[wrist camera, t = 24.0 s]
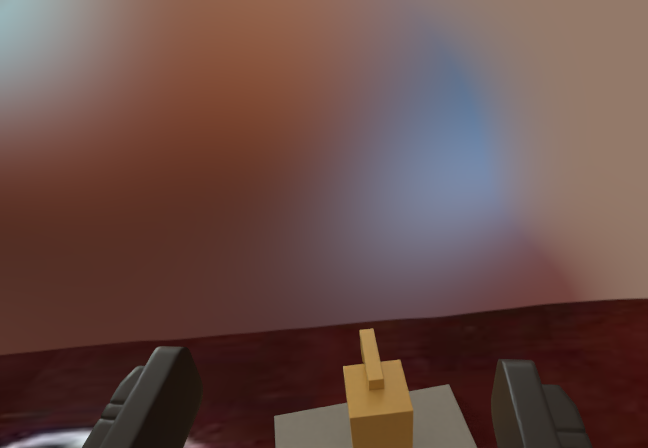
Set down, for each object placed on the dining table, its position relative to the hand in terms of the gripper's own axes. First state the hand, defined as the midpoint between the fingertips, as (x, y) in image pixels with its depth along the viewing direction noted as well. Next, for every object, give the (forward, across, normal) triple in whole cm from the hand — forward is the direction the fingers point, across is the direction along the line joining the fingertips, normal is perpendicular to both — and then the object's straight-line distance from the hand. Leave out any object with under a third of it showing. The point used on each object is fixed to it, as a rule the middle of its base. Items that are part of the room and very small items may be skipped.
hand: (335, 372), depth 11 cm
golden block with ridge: (+12, 0, +25) cm, 28 cm away
